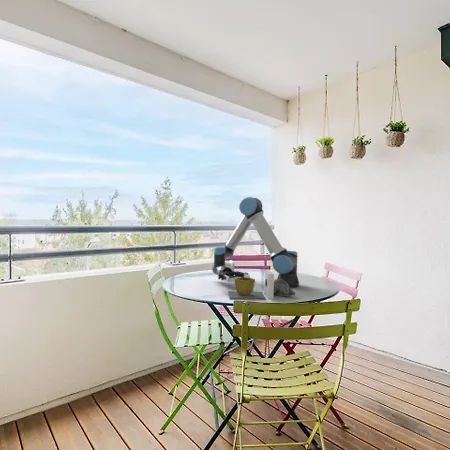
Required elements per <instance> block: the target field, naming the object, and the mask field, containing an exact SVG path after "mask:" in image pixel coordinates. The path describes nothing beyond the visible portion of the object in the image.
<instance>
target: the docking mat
mask: <svg viewBox="0 0 450 450" xmlns="http://www.w3.org/2000/svg"><path fill="white" fill-rule="evenodd" d="M227 293H228V299H229V300H262V301H263V300H266V299H267V297H266V295H265V294H264V293H263V291H252V292H251V294H249V295H241V294H238V293H237V291H236V290H232V291H231V290H228V291H227Z"/></svg>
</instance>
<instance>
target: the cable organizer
mask: <svg viewBox="0 0 450 450" xmlns="http://www.w3.org/2000/svg"><path fill="white" fill-rule="evenodd" d="M225 266H226V267H229V268H231V270H232V271H234V272H235V261H234V260H232V259H231V260H229V261H228V262H225ZM231 279H234V277H231Z"/></svg>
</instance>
